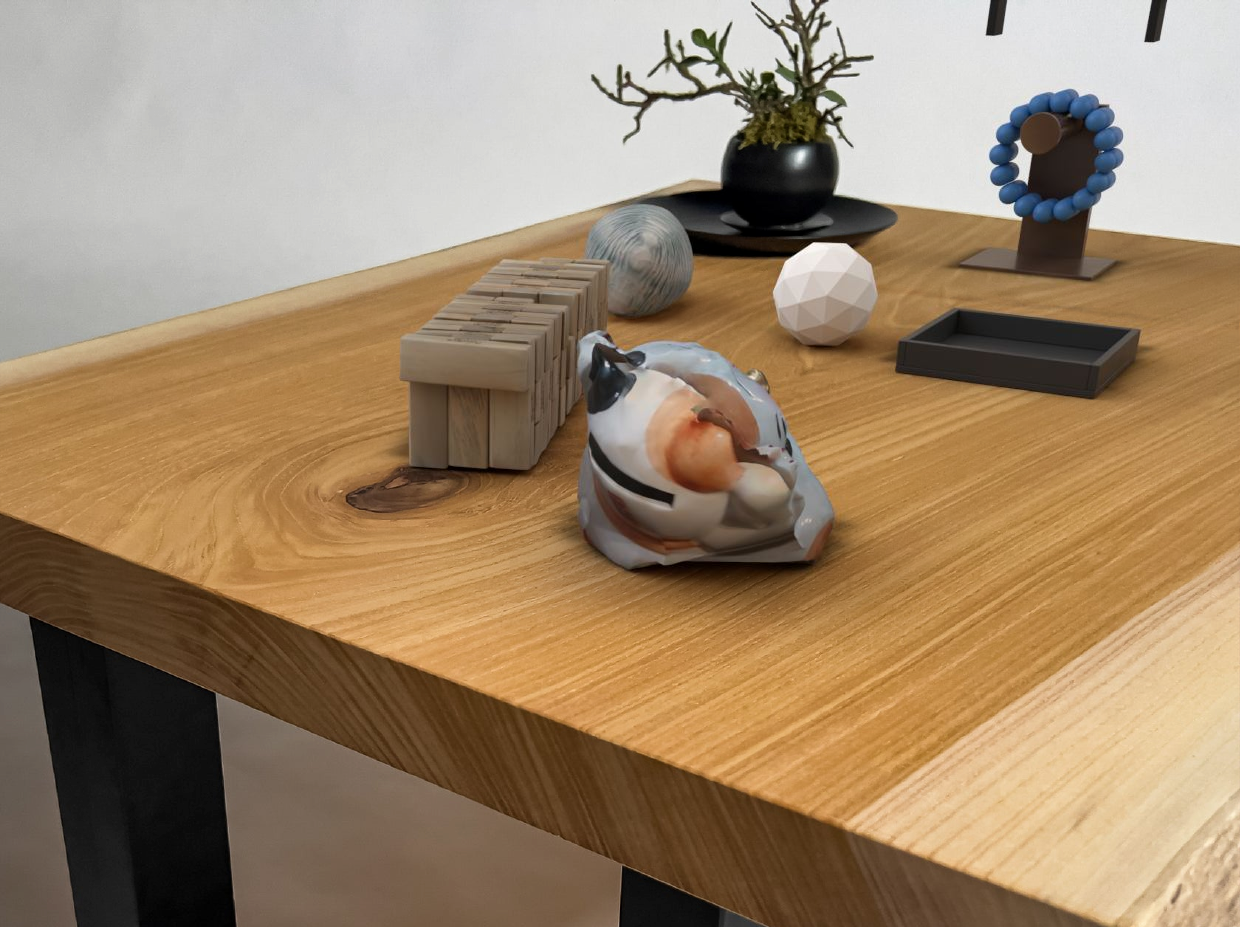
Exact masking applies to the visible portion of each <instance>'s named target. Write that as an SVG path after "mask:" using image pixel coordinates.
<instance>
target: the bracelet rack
mask: <svg viewBox="0 0 1240 927" xmlns="http://www.w3.org/2000/svg"><path fill="white" fill-rule="evenodd" d="M1103 107H1107V108H1110V104H1107V103H1099V107H1098V109H1100V108H1103ZM1085 120H1086V117H1084V118H1081V119H1077V118H1074V117H1073V116H1072V115H1071V114H1070V110H1069V111H1066V112H1063V113H1055V112H1051V113H1046V112H1041V113H1036V114H1034V115H1032V116H1030V117H1029V118H1028V119H1027V120H1026V121H1025V122H1024V124H1023V126H1022V128H1021V132H1020V140H1019V141H1020V143H1021V146H1022V147H1023V148H1024V150H1026V151H1027V152H1028V153H1030V154H1031V156H1030V157H1031V158H1030V164H1029V170H1028V171H1029V172H1028V178H1027V183H1026V184H1027V186H1028V192H1027V194H1029V193H1038V194H1039V195H1040V196H1041V197H1042V200H1043V201H1045V200H1047V199H1050V198H1055V199H1057V200H1059V201H1061V200H1063V199H1065V198H1067V197H1069V196H1074V195H1075V193H1076V192H1078V191H1079V190H1081V189H1083V188H1085V187H1087V180H1088V178H1089V177H1090V176H1091V175H1092V174H1094V173H1096V172H1098V171H1097V169H1096V168H1095V164H1094V163H1095V159H1096V157H1097V156H1098V155H1099V154H1100V153H1102V152H1103V151H1100V150H1098V149H1097V148H1096V147H1095V145H1094V138H1095V136H1096V134H1097V133H1098V132H1100V131H1098V132H1091V131H1089V130H1088V129H1087V128H1086V125H1085ZM1105 129H1106V128H1105ZM1103 130H1104V129H1103ZM1027 194H1026V195H1027ZM1092 212H1093V206H1092V207H1090V208H1088V209H1086V210H1083V211H1080V212H1079V213H1078V214H1077V215H1075V216H1073V217H1071V218H1070V219H1068V220H1065V221H1060V220H1058V219H1056V218H1053V219H1051V220H1050V221H1048V222H1046V223H1038V222H1036V221H1035V220H1034V218H1033V214H1031V215H1029V216H1027V217H1021V224H1020V231H1019V239H1018V245H1017V249H1011V248H1010V249H1009V248H1001V247H999V248H998V247H988V248H986V249H984V250H982V251H980V252H977V254H975V255H973V256H971V257H969V258H967V259H965V260H963V261H961V262H959V263H958V265H957V267H958V268H961V269H969V270H980V271H991V272H998V273H999V272H1000V273H1009V274H1019V275H1029V276H1038V277H1048V278H1057V279H1067V280H1077V281H1087V282H1091V281H1093V280H1094V279H1096V278H1098V277H1099V276H1100V275H1102V274H1103V273H1104V272H1106V271H1107V270H1109V269H1110V268H1111V267H1113V266H1114V265H1116V264H1117V259H1115V258H1103V257H1094V256H1085V253H1086V247H1087V241H1088V235H1089V229H1090V223H1091V217H1092Z"/></svg>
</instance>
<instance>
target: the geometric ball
mask: <svg viewBox="0 0 1240 927" xmlns="http://www.w3.org/2000/svg"><path fill="white" fill-rule="evenodd" d="M781 268H782V269H781V270H780V273H779V276H778V278H777V281H776V283H775V286H774V289H773V291H772V296H773V301H774V305H775V309H776V315H777V318H778V323H779V325H780V326H781V327H782V328H783V329H784V330H786V331H787V332H788V333H789V334H790V335H792V336H793V337H794V338H795V339H796V340H798V341H799V342H800V343H801V344H802V345H804V346H817V347H818V346H819V347H820V346H821V347H838V346H839V345H841V344H843V343H844V342H846V341H847V340H849V339H850V338H852V337H854V336H856V335H857V334H858V333H859V332H861V331H863V330H864V329H865V328H866V326H867V325H868V322H869V319H870V317H871V315H872V313H873V310H874V307H875V305H876V303H877V300H878V298H879V294H878V289H877V286H876V281H875V276H874V271H873V266H872V264H871V263H870V262H869V261H868V259H866V258H864V257H863V256H862V255H861V254H860V253H859V252H857V251H856V250H855V249H854V248H852V247H851V246H850V245H849V244H848V243H842V242H840V243H839V242H812V243H811V244H809V245H808V246H806V247H804V248H803V249H801V250H800V251H799V252H797V253H796V254H794V255H792V256H791V257H789V258H788V259H787V260H785V261H784V263H783V266H782V267H781Z"/></svg>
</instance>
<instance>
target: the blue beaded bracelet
mask: <svg viewBox="0 0 1240 927" xmlns="http://www.w3.org/2000/svg"><path fill="white" fill-rule="evenodd" d="M1099 104H1100V99H1099V97H1098V96H1097V95H1095V94H1093V93H1087V94H1084V95H1081V96H1080V94H1079V93H1078V91H1077V90H1076V89H1074V88H1066V89H1062V90H1060V91H1056V92H1055V93H1054V92H1052V91H1047V92H1043V93H1039V94H1037V95H1035V96H1033V97H1032V98H1031V99H1030V100H1029V102H1028V103H1024V104H1022V105H1019V106H1016V107H1014V108H1013V109H1012V110H1011V111H1010V114H1009V122H1005V123H1003V124H1001V125H1000V126H999V127H998V128H997V129H996V131H995V138H996V140H997V142H998V144H996V145H993V146H992V148H990V150H989V153H988V158H989V161H990V162H991V163H992V165H995V167H994V168H993V169H992V170H991V172H990V174H989V179H990V182H991V184H992V185H993V186H995V187H1001V188H1000V189H999V191H998V199H999V201H1000V202H1001V203H1002V204H1004V205H1012V204H1013V212H1014V214H1015V215H1016V216H1017V217H1019V218H1022V217H1027V216H1029V215H1031V214H1033V218H1034V220H1035V221H1036V222H1038V223H1046V222H1048V221H1050V220H1051V219H1053V218H1056V219H1058V220H1060V221H1065V220H1068V219H1070V218H1071V217H1073V216H1075V215H1077V214H1078V213H1079V212H1080V211H1083V210H1086V209H1088V208H1090V207H1092V208H1093V207H1094V206H1096V205H1097V204H1098V203H1099V202H1100V201H1101V198H1102V193H1103V192H1105V191H1107V190H1109V189H1111V188H1112V187H1113V186H1114V185H1115V183H1116V180H1117V176H1116V173H1115V171H1114V170H1116V169H1117V168H1119V167H1120V166H1121V165H1122V164H1123V162H1124V158H1125V154H1124V153H1123V151H1122V150H1121V149H1120V148H1118V146H1119V145H1120V144H1121V143H1122V142H1123V139H1124V132H1123V129H1121V128H1120V127H1119V126H1115V125H1113V123H1114V121H1115V119H1116V118H1115V117H1116V116H1115V112H1114V110H1113V109H1112V108H1110V107H1109V108H1107V107H1103V108H1100V109H1098V107H1099ZM1069 110H1070V114H1071V115H1072V116H1073V117H1074V118H1077V119H1081V118H1084V117H1086V120H1085V125H1086V128H1087V129H1088V130H1089V131H1091V132H1098V131H1100V132H1098V133H1097V134H1096V136H1095V138H1094V145H1095V147H1096V148H1097V149H1098V150H1100V151H1102V153H1100V154H1099V155H1098V156H1097V157H1096V159H1095V163H1094V164H1095V168H1096V169H1097V171H1098V172H1096V173H1094V174H1092V175H1091V176H1090V177H1089V178H1088V180H1087V187H1085V188H1083V189H1081V190H1079V191H1078V192H1076V193H1075V195H1074V196H1069V197H1067V198H1065V199H1063V200H1061V201H1059V200H1057V199H1055V198H1050V199H1047V200H1045V201H1043V200H1042V197H1041V196H1040V195H1039V194H1038V193H1029V194H1027V192H1028V186H1027V184H1028V183H1027V182H1026V181H1024V180H1022V179H1018V177H1019V176H1020V167H1019V165H1018V164H1017V163H1016V162H1014V160H1016V158H1017V157H1018V156H1019V149H1020V148H1019V146H1018V144H1017V143H1016V142H1018V141H1021V140H1020V132H1021V128H1022V126H1023V124H1024V122H1025V121H1026V120H1027V119H1028V118H1029V117H1030V116H1032V115H1034V114H1036V113H1041V112H1046V113H1051V112H1055V113H1063V112H1066V111H1069ZM1105 128H1106V129H1105ZM1103 129H1104V130H1103ZM1026 194H1027V195H1026Z"/></svg>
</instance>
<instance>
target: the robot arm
mask: <svg viewBox="0 0 1240 927" xmlns="http://www.w3.org/2000/svg"><path fill="white" fill-rule="evenodd" d="M1007 4H1008V0H990V2H989V9H988V15H987V22H986V30H985V36H986V37H996V36H1001V35H1003V33H1004V25H1005V21H1006V20H1005V18H1006V12H1007V7H1008V6H1007ZM1167 4H1168V0H1151V2H1150V6H1149V13H1148V19H1147V22H1146V30H1145V34H1144V40H1143V43H1151V44H1152V43H1153V44H1154V43H1156V42H1160V41H1161V36H1162V30H1163V26H1164V25H1163V24H1164V19H1165V14H1166V9H1167Z"/></svg>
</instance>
